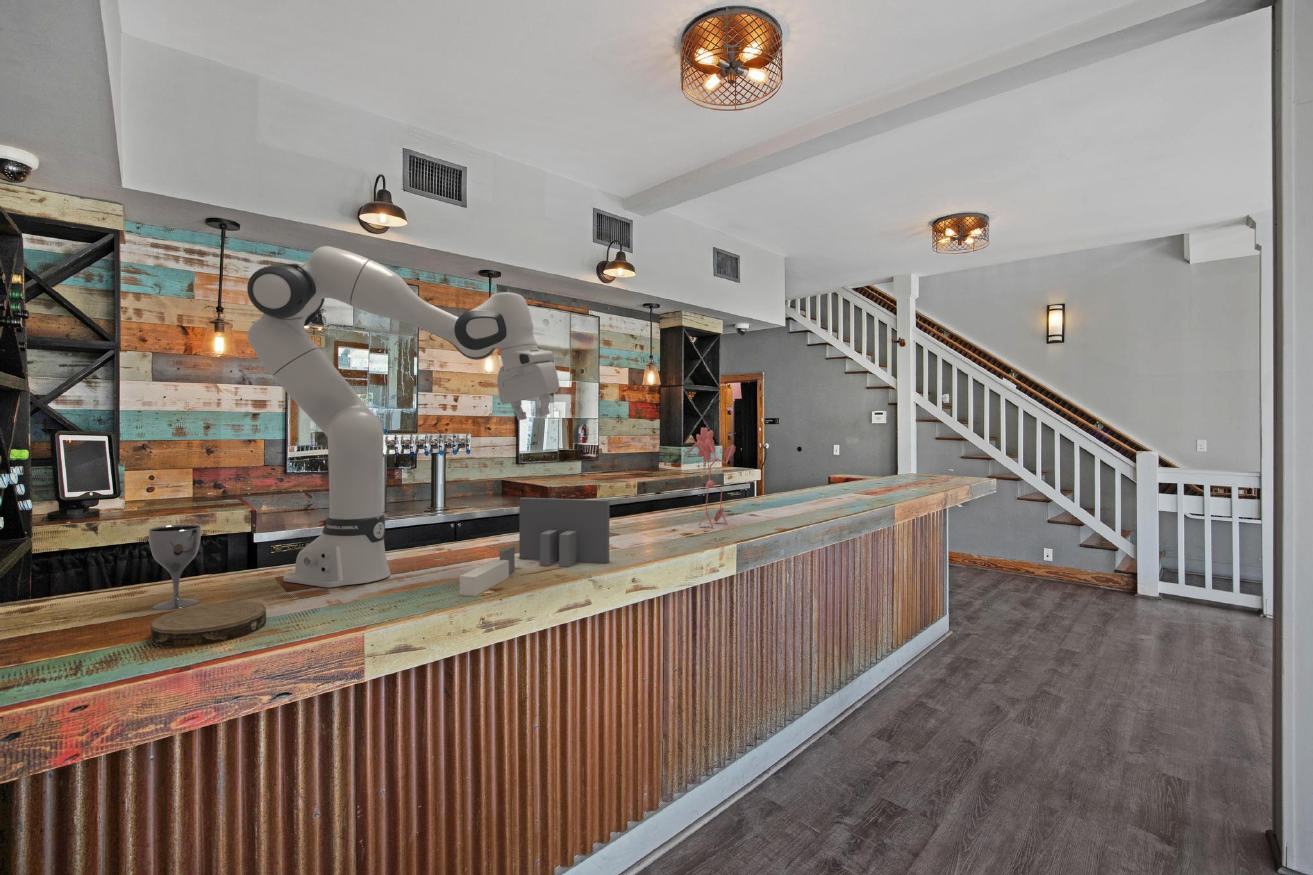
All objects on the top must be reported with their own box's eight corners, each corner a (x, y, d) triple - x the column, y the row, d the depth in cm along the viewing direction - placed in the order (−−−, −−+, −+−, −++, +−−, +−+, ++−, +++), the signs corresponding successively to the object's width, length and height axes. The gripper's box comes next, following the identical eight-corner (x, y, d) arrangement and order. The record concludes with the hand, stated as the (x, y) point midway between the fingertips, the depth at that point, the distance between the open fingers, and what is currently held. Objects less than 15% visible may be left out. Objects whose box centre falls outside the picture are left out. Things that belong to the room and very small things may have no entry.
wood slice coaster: (124, 648, 97) (124, 630, 97) (198, 617, 113) (198, 601, 113) (225, 649, 97) (225, 630, 97) (285, 617, 113) (285, 601, 113)
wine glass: (159, 613, 115) (159, 532, 114) (142, 606, 119) (141, 528, 118) (208, 602, 121) (208, 526, 121) (190, 596, 126) (190, 523, 125)
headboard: (509, 563, 157) (509, 501, 156) (522, 557, 165) (522, 497, 164) (600, 568, 152) (600, 504, 152) (609, 561, 160) (609, 500, 160)
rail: (459, 595, 128) (459, 566, 128) (505, 570, 149) (505, 546, 149) (475, 596, 127) (475, 567, 127) (519, 571, 149) (519, 546, 149)
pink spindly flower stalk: (741, 522, 226) (740, 426, 225) (702, 531, 205) (700, 427, 205) (706, 519, 235) (705, 427, 235) (665, 527, 215) (664, 427, 215)
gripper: (486, 369, 151) (498, 424, 152) (534, 353, 137) (547, 414, 138) (508, 366, 156) (520, 420, 157) (557, 351, 141) (569, 410, 142)
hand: (533, 417), depth 147 cm, fingers open, 8 cm apart
